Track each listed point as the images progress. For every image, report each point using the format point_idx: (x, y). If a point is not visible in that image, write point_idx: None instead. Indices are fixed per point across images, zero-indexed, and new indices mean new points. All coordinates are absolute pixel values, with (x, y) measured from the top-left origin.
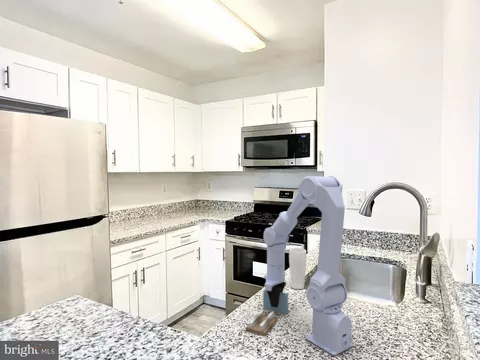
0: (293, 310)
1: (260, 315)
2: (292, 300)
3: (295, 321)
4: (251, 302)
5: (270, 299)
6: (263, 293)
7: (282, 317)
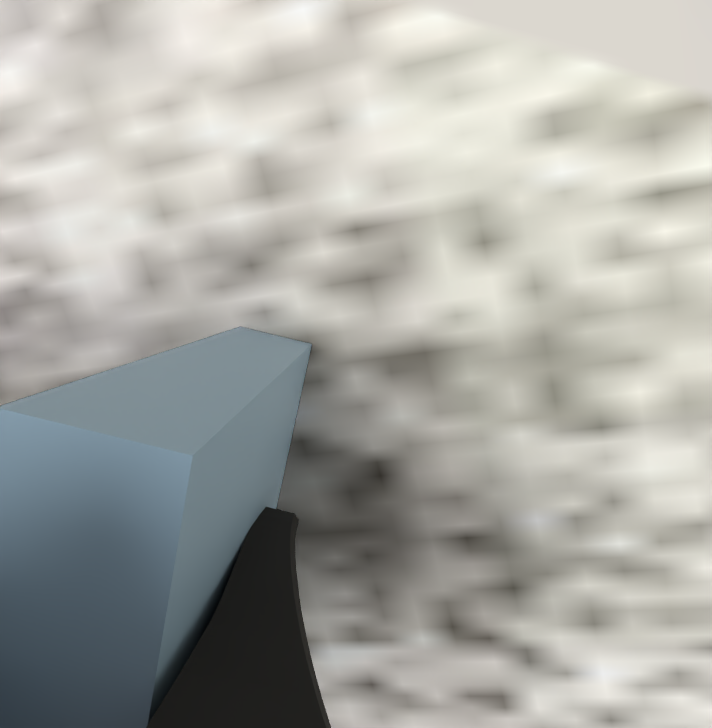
0: None
1: None
2: (631, 698)
3: None
4: (437, 79)
5: None
6: (70, 390)
7: None
